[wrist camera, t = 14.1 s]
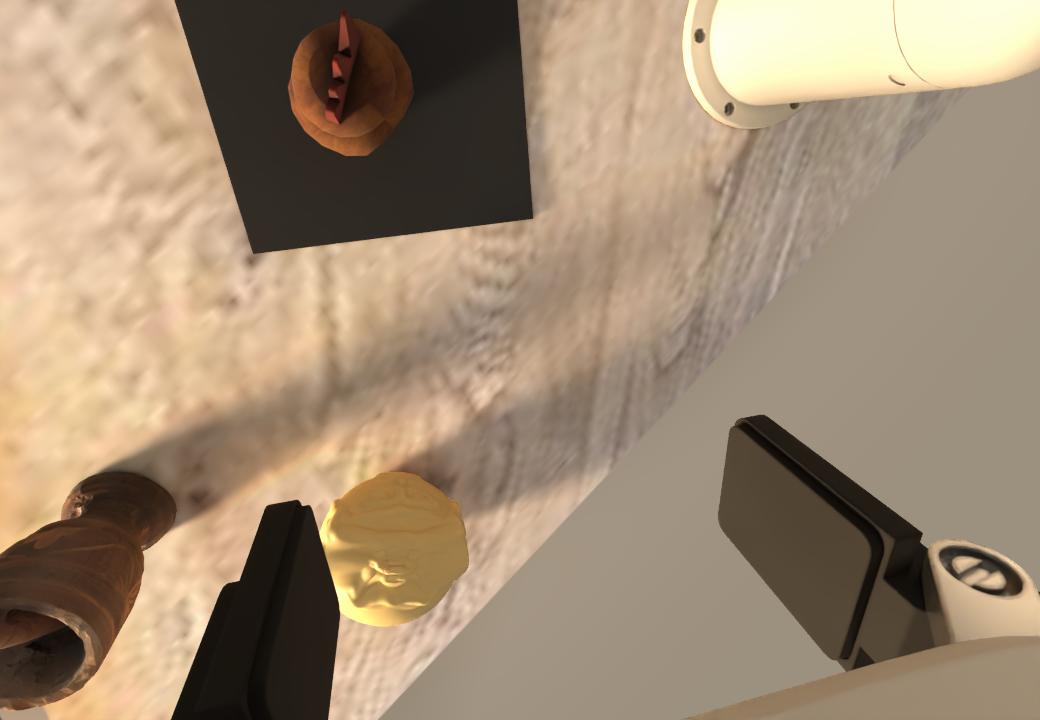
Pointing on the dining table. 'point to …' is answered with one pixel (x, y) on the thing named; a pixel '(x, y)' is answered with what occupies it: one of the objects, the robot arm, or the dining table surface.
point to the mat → (407, 150)
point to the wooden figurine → (349, 86)
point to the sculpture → (393, 548)
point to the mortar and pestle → (75, 586)
